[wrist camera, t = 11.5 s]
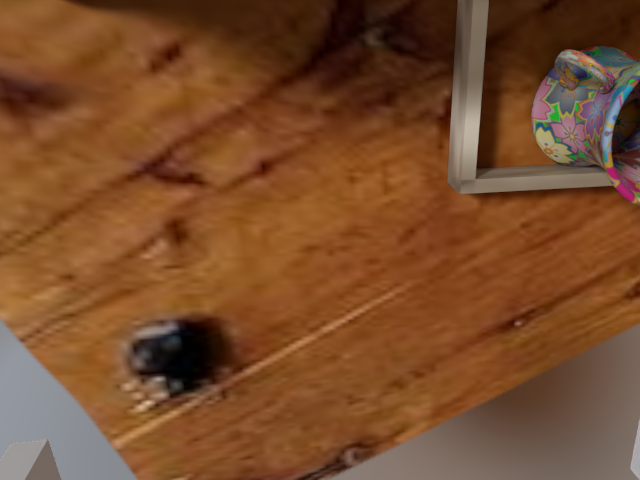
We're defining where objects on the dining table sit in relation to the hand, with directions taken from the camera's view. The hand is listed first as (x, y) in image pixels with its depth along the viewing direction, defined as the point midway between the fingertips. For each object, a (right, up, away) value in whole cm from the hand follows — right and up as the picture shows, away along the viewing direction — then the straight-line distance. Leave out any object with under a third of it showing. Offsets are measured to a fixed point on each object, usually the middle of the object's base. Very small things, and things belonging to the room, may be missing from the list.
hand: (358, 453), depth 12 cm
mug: (+17, +15, +26) cm, 35 cm away
